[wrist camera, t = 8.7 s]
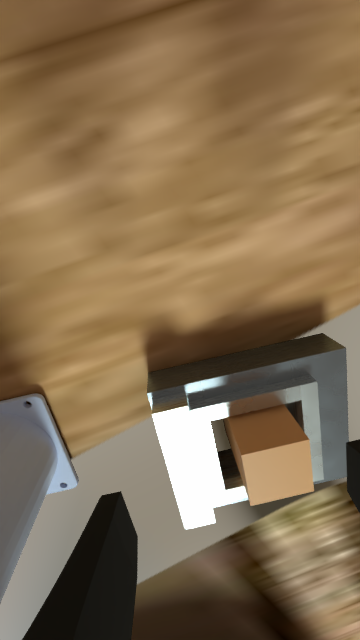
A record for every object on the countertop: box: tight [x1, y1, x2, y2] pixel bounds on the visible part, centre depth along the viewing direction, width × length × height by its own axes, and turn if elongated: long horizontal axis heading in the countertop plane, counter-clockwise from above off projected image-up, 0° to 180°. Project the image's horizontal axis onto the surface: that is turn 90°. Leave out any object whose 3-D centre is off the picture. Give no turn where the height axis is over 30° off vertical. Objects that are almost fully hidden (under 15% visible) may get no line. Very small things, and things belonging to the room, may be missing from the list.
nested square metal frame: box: [147, 333, 349, 530], centre depth 19 cm, size 12×10×4 cm
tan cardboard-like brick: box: [223, 404, 314, 506], centre depth 18 cm, size 4×4×6 cm
